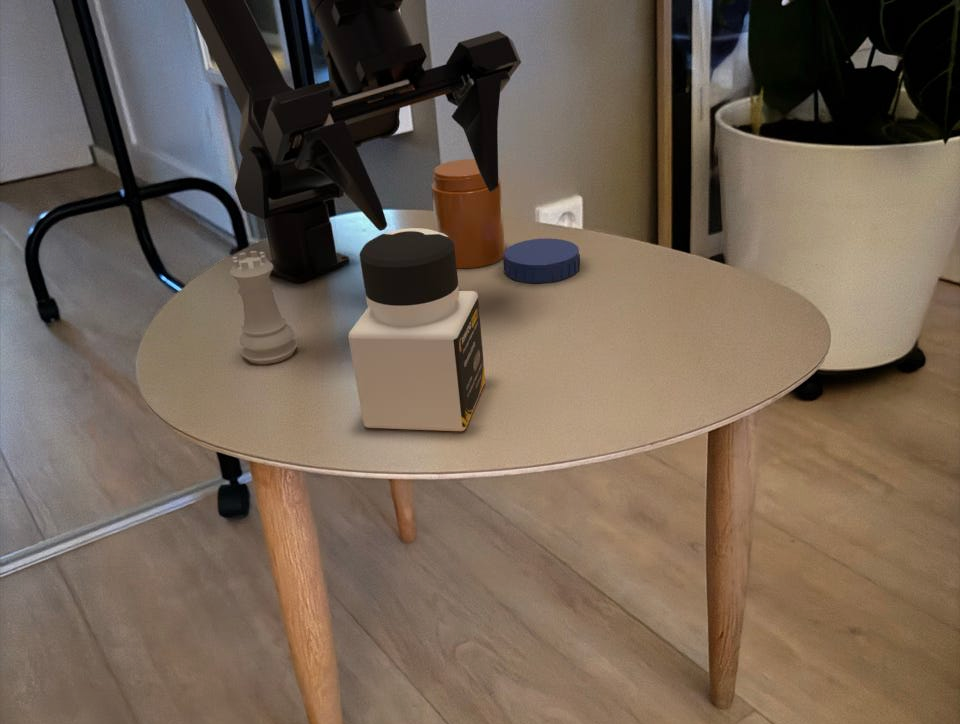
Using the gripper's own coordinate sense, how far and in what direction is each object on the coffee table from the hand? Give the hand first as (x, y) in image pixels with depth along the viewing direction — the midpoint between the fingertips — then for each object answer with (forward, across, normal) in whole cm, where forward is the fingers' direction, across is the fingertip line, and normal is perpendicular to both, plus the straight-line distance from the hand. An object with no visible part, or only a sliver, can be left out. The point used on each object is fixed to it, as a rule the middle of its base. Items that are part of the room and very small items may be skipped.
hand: (440, 208), depth 66 cm
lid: (+4, -13, -13) cm, 19 cm away
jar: (+1, -9, -20) cm, 22 cm away
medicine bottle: (+13, +7, +1) cm, 15 cm away
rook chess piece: (+4, +14, -12) cm, 18 cm away
